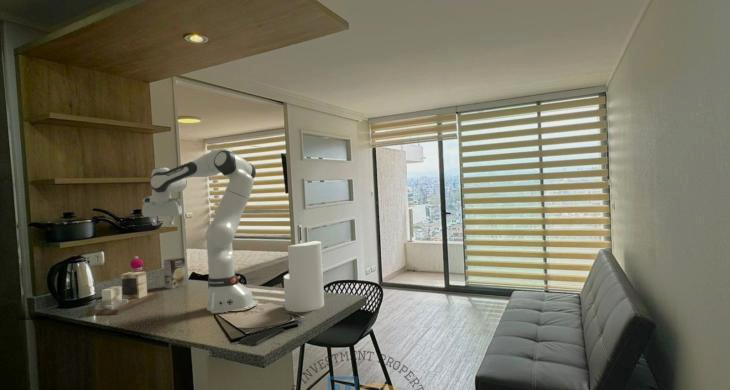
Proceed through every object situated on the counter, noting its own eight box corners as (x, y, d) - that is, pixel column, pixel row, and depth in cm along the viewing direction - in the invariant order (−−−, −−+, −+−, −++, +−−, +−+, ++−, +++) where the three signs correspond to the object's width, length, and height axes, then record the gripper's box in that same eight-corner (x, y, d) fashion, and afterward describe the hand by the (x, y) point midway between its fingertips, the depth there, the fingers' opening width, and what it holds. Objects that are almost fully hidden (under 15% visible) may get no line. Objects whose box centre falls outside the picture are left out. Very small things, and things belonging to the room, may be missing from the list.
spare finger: (111, 307, 174) (110, 289, 174) (102, 307, 175) (101, 290, 174) (122, 303, 181) (121, 286, 181) (114, 303, 181) (113, 286, 181)
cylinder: (332, 303, 173) (329, 241, 172) (305, 314, 158) (302, 247, 158) (304, 298, 182) (301, 240, 182) (276, 308, 168) (273, 245, 168)
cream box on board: (157, 296, 199) (156, 269, 199) (117, 314, 171) (116, 282, 171) (131, 297, 200) (129, 270, 200) (87, 314, 172) (85, 283, 172)
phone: (284, 328, 140) (255, 344, 127) (285, 331, 140) (255, 347, 127) (268, 326, 144) (238, 340, 131) (268, 329, 144) (238, 343, 131)
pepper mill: (138, 294, 206) (136, 257, 206) (127, 294, 208) (125, 257, 208) (148, 290, 213) (146, 254, 213) (137, 290, 215) (135, 255, 215)
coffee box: (172, 289, 214) (171, 260, 214) (164, 288, 217) (163, 260, 217) (186, 285, 223) (184, 257, 223) (178, 284, 225) (176, 257, 225)
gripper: (184, 197, 202) (185, 223, 202) (147, 199, 204) (149, 225, 204) (176, 197, 196) (178, 224, 196) (139, 199, 198) (141, 226, 198)
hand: (163, 225), depth 200 cm, fingers open, 8 cm apart
